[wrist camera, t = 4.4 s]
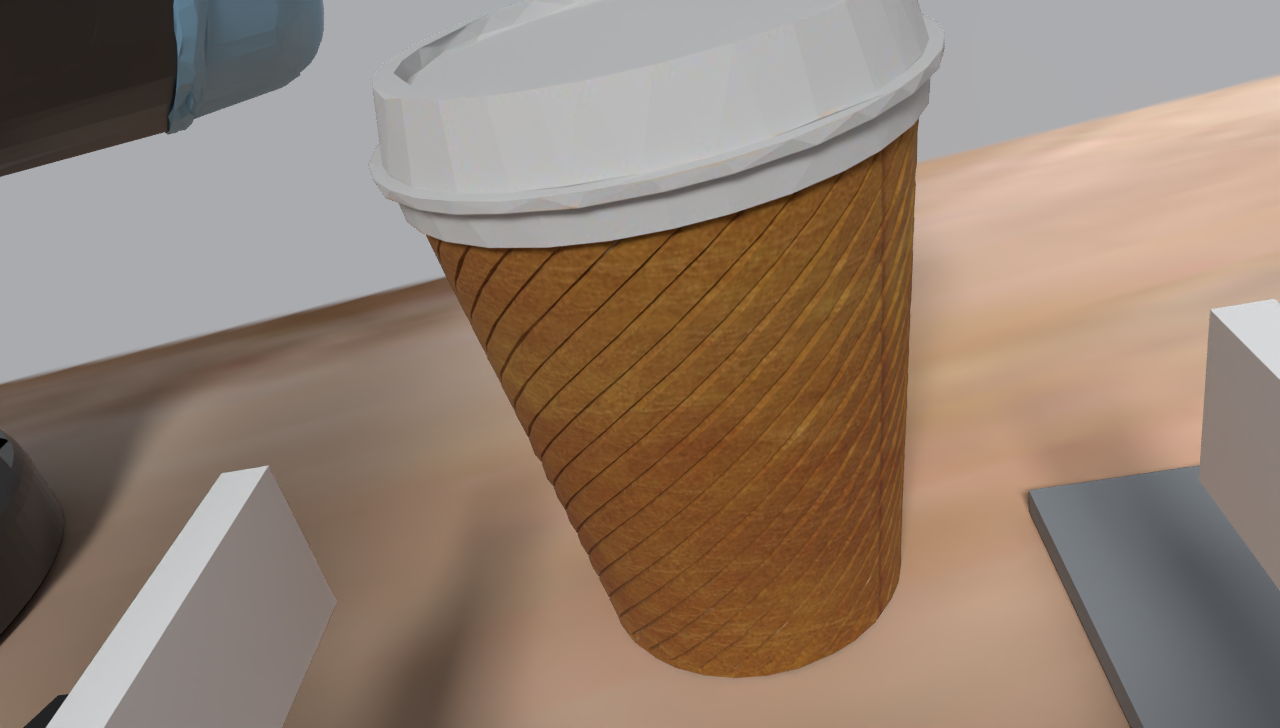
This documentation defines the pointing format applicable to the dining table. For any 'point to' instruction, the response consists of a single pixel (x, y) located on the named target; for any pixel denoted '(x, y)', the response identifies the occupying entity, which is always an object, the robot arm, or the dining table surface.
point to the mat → (1167, 599)
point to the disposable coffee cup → (689, 290)
